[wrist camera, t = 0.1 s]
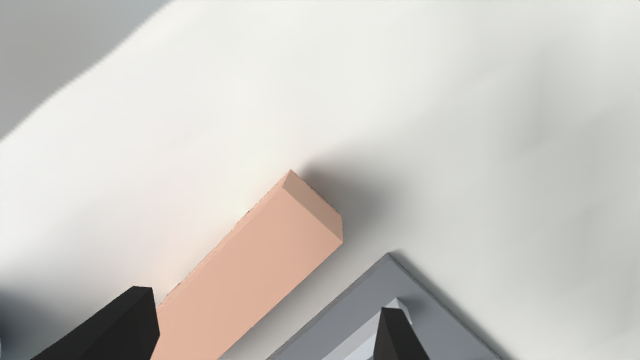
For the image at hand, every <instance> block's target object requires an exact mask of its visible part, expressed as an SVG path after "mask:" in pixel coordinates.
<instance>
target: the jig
mask: <svg viewBox="0 0 640 360" xmlns="http://www.w3.org/2000/svg"><path fill="white" fill-rule="evenodd" d="M381 307H388V308H400V309H402V310H403V311H404V313H405V315H406V317H407V319H408V321H409V322H410V324H411V326H412V328H413V330H414V332H415V334H416V336H417V337H418V339H419V341H420V343H421V344H422V346H423V348H424V350H425V351H426V353H427V355H428V356H429V358H430V360H502V359H501V358H500V357H499V356H498V355H497V354H496V353H495V352H494V351H493V350H492V349H490V348H489V347H488V346H487V345H486V344H485V343H484V342H483V341H482V340H481V339H480V338H479V337H478V336H476V335H475V334H474V333H473V332H472V331H471V330H470V329H469V328H468V327H467V326H466V325H465V324H463V323H462V322H461V321H460V320H459V319H458V318H457V317H456V316H455V315H454V314H453V313H452V312H450V311H449V310H448V309H447V308H446V307H445V306H444V305H443V304H442V303H441V302H440V301H439V300H438V299H436V298H435V297H434V296H433V295H432V294H431V293H430V292H429V291H428V290H427V289H426V288H425V287H423V286H422V285H421V284H420V283H419V282H418V281H417V280H416V279H415V278H414V277H413V276H412V275H411V274H409V273H408V272H407V271H406V270H405V269H404V268H403V267H402V266H401V265H400V264H399V263H398V262H396V261H395V260H394V259H393V258H392V257H391V256H390V255H389V254H388V253H387V254H386V255H384V256H383V257H382V258H381V259H380V260H379V261H378V262H376V263H375V264H374V265H373V266H372V267H371V268H370V269H369V270H367V271H366V272H365V273H364V274H363V275H362V276H361V277H359V278H358V279H357V280H356V281H355V282H354V283H353V284H352V285H350V286H349V287H348V288H347V289H346V290H345V291H344V292H342V293H341V294H340V295H339V296H338V297H337V298H336V299H334V300H333V301H332V302H331V303H330V304H329V305H328V306H327V307H325V308H324V309H323V310H322V311H321V312H320V313H319V314H317V315H316V316H315V317H314V318H313V319H312V320H311V321H310V322H308V323H307V324H306V325H305V326H304V327H303V328H302V329H300V330H299V331H298V332H297V333H296V334H295V335H294V336H293V337H291V338H290V339H289V340H288V341H287V342H286V343H285V344H283V345H282V346H281V347H280V348H279V349H278V350H277V351H276V352H274V353H273V354H272V355H271V356H270V357H269V358H268V359H266V360H373V351H374V345H375V340H376V335H377V329H378V324H379V318H380V313H381Z"/></svg>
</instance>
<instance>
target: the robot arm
mask: <svg viewBox="0 0 640 360" xmlns="http://www.w3.org/2000/svg"><path fill="white" fill-rule="evenodd" d="M159 337H160V330H159V324H158V318H157V313H156V307H155V302H154V296H153V290H152V288H151V287H139V286H132V287H131V288H129V289H128V290H127V291H125V292H124V293H122V294H121V295H120V296H118V297H117V298H116V299H114V300H113V301H112V302H110V303H109V304H108V305H106V306H105V307H104V308H102V309H101V310H100V311H98V312H97V313H96V314H94V315H93V316H92V317H90V318H89V319H88V320H86V321H85V322H84V323H82V324H81V325H79V326H78V327H77V328H75V329H74V330H73V331H71V332H70V333H68V334H67V335H66V336H64V337H63V338H62V339H60V340H59V341H57V342H56V343H54V344H53V345H51V346H50V347H48V348H47V349H45V350H44V351H42V352H41V353H40V354H38V355H37V356H35V357H34V358H32V359H31V360H150V359H151V356H152V354H153V352H154V349H155V347H156V344H157V342H158V339H159ZM373 360H430V358H429V356H428V355H427V353H426V351H425V350H424V348H423V346H422V344H421V343H420V341H419V339H418V337H417V336H416V334H415V332H414V330H413V328H412V326H411V324H410V322H409V321H408V319H407V317H406V315H405V313H404V311H403V310H402V309H400V308H388V307H381V313H380V318H379V324H378V329H377V335H376V340H375V345H374V351H373Z"/></svg>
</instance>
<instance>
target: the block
mask: <svg viewBox="0 0 640 360" xmlns="http://www.w3.org/2000/svg"><path fill="white" fill-rule="evenodd" d="M341 244H343V229H342V216H341V215H340V214H339V213H338V212H337V211H335V210H334V209H333V208H332V207H331V206H330V205H329V204H328V203H327V202H326V201H325V200H324V199H322V198H321V197H320V196H319V195H318V194H317V193H316V192H315V191H314V190H313V189H312V188H311V187H309V186H308V185H307V184H306V183H305V182H304V181H303V180H302V179H301V178H300V177H299V176H297V175H296V174H295V173H294V172H293V171H292V170H291V169H290V170H289V171H288V172H287V174H286V175H285V176H284V177H283V178H282V179H281V180H280V181H279V182H278V183H277V184H276V185H275V186H274V187H273V188H272V189H271V190H270V191H269V192H268V193H267V194H266V195H265V196H264V197H263V198H262V199H261V200H260V201H259V203H258V204H257V205H256V206H255V207H254V208H253V209H252V210H251V211H250V212H249V211H248V212H247V213H246V214H245V215H244V216H243V217H242V218H241V219H240V220H239V221H238V223H237V224H236V226H235V227H234V228H233V229H232V231H231V232H230V233H229V234H228V235H227V236H226V237H225V238H224V239H223V240H222V241H221V242H220V243H219V244H218V245H217V246H216V247H215V248H214V249H213V250H212V251H211V252H210V253H209V254H208V255H207V256H206V257H205V258H204V260H203V261H202V262H201V263H200V264H199V265H198V266H197V267H196V268H195V269H194V270H193V271H192V272H191V273H190V274H189V275H188V276H187V277H186V278H185V279H184V280H183V281H182V282H181V283H179V284H178V285H177V286H176V287H175V288H174V289H173V290H172V291H171V292H170V293H169V294H168V296H167V297H166V298H165V300H164V301H163V302H162V303H161V304H160V305H159V306H158V307H157V308H156V313H157V318H158V324H159V330H160V337H159V339H158V342H157V344H156V347H155V349H154V352H153V354H152V356H151V359H150V360H217V359H218V358H219V357H220V356H221V355H222V354H224V353H225V352H226V351H227V350H228V349H229V348H230V347H231V346H232V345H233V344H234V343H235V342H237V341H238V340H239V339H240V338H241V337H242V336H243V335H244V334H245V333H246V332H247V331H248V330H250V329H251V328H252V327H253V326H254V325H255V324H256V323H257V322H258V321H259V320H260V319H261V318H262V317H264V316H265V315H266V314H267V313H268V312H269V311H270V310H271V309H272V308H273V307H274V306H275V305H277V304H278V303H279V302H280V301H281V300H282V299H283V298H284V297H285V296H286V295H287V294H288V293H290V292H291V291H292V290H293V289H294V288H295V287H296V286H297V285H298V284H299V283H300V282H301V281H303V280H304V279H305V278H306V277H307V276H308V275H309V274H310V273H311V272H312V271H313V270H314V269H316V268H317V267H318V266H319V265H320V264H321V263H322V262H323V261H324V260H325V259H326V258H327V257H328V256H330V255H331V254H332V253H333V252H334V251H335V250H336V249H337V248H338V247H339V246H340V245H341Z"/></svg>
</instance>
